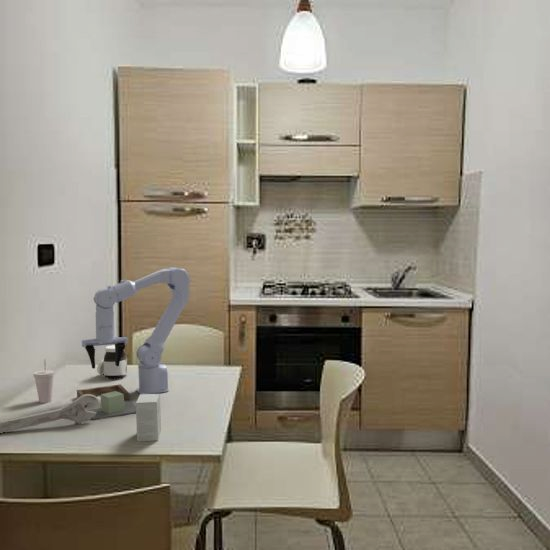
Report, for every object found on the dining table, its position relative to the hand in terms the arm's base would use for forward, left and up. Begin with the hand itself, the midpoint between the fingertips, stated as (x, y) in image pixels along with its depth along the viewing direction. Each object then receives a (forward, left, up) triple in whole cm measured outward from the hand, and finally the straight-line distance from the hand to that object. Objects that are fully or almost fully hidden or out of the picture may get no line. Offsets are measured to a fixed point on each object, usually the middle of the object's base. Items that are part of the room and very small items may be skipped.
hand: (105, 366), depth 191 cm
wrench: (+21, +22, -11) cm, 32 cm away
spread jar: (-8, -28, -11) cm, 31 cm away
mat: (+1, +17, -10) cm, 20 cm away
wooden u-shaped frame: (+1, +1, -10) cm, 10 cm away
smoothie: (+18, -6, -11) cm, 22 cm away
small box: (-3, +43, -11) cm, 44 cm away
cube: (+1, +17, -10) cm, 19 cm away
